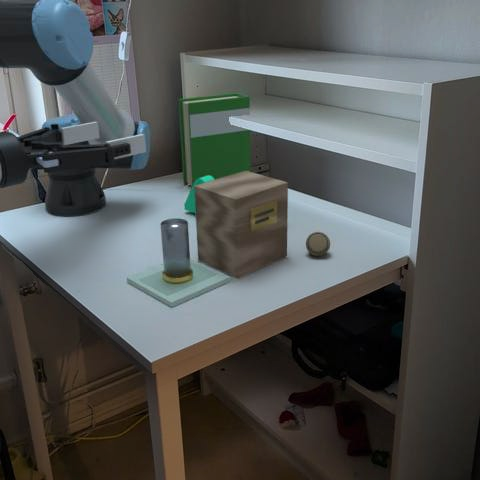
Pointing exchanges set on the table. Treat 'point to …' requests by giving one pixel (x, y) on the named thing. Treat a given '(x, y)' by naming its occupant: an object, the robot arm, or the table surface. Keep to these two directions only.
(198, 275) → the pad
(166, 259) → the grey glass cylinder
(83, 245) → the table surface
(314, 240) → the door knob
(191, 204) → the camera mount
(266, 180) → the block
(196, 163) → the hardback book
